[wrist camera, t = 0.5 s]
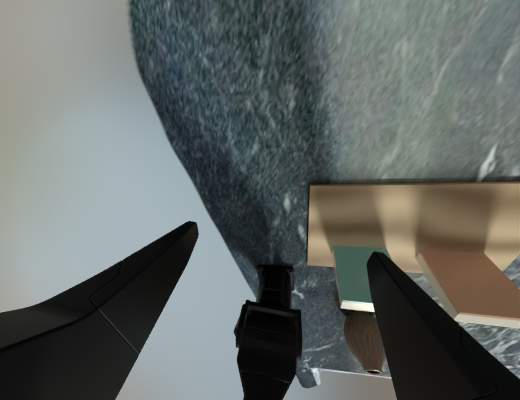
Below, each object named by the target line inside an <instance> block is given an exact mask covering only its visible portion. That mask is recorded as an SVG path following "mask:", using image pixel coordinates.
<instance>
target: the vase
mask: <svg viewBox="0 0 520 400" xmlns="http://www.w3.org/2000/svg"><path fill="white" fill-rule="evenodd" d="M344 334H345V339H346V342H347V345H348V347H349V349H350V351H351V352H352V354H353V355H354V356H355V358H356V359H357V360H358V361H359V362H360V364H361V365H362V367H363V369H364V370H365V372H366V373H368V374H371V375H380V374H381V372H382V366H383V363H384V361H385V359H386V354H385V350H384V346H383V342H382V338H381V335H380V331H379V327H378V323H377V319H376V318H375V317H374V316H372V315H371V314H369V313H368V312H365V311H354V312H351V313H350V314H349V315H348V316H347V318H346V319H345V323H344Z"/></svg>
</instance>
